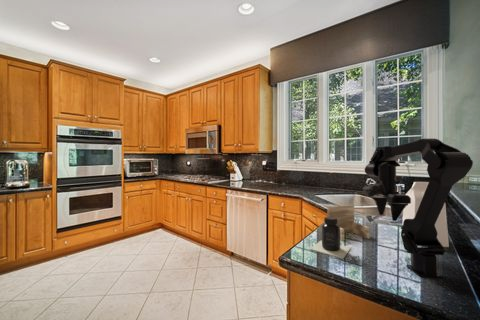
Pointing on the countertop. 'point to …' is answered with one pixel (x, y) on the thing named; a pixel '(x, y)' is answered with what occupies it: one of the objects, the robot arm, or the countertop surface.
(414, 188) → the milk
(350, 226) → the open box
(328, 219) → the supplement bottle
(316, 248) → the mat
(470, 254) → the countertop surface
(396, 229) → the countertop surface
